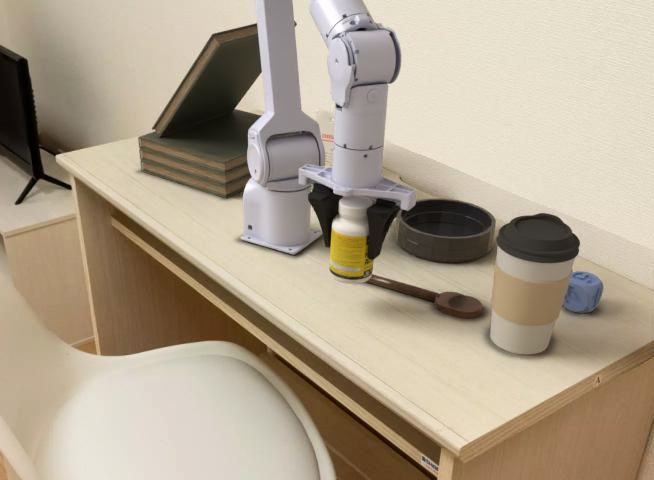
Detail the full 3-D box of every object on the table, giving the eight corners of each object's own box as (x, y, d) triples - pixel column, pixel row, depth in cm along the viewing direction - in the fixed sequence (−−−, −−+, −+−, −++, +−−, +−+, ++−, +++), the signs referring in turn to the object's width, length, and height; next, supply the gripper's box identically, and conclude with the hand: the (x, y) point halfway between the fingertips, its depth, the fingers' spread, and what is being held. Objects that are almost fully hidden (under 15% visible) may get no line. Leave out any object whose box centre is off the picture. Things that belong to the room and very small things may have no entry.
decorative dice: (585, 316, 100) (592, 289, 98) (556, 305, 102) (562, 278, 100) (599, 305, 103) (606, 278, 101) (571, 294, 105) (577, 267, 103)
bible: (226, 138, 155) (222, 1, 142) (308, 160, 146) (311, 16, 132) (140, 171, 139) (126, 20, 126) (225, 198, 130) (220, 39, 116)
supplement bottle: (369, 287, 96) (375, 213, 91) (325, 282, 97) (328, 208, 92) (375, 267, 101) (381, 195, 96) (333, 262, 102) (336, 190, 96)
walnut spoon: (342, 282, 106) (342, 274, 106) (357, 269, 110) (357, 262, 109) (473, 321, 99) (475, 313, 98) (486, 306, 102) (487, 298, 101)
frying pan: (378, 248, 115) (380, 223, 113) (418, 215, 126) (420, 191, 124) (471, 273, 110) (475, 247, 107) (504, 236, 120) (509, 211, 118)
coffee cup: (543, 368, 90) (570, 249, 82) (469, 344, 94) (487, 228, 86) (567, 333, 97) (593, 219, 89) (496, 312, 101) (515, 201, 93)
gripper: (285, 139, 90) (284, 247, 97) (402, 165, 84) (391, 278, 91) (316, 123, 95) (313, 227, 102) (428, 146, 89) (416, 255, 96)
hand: (352, 250), depth 97 cm, fingers closed on supplement bottle, 5 cm apart
